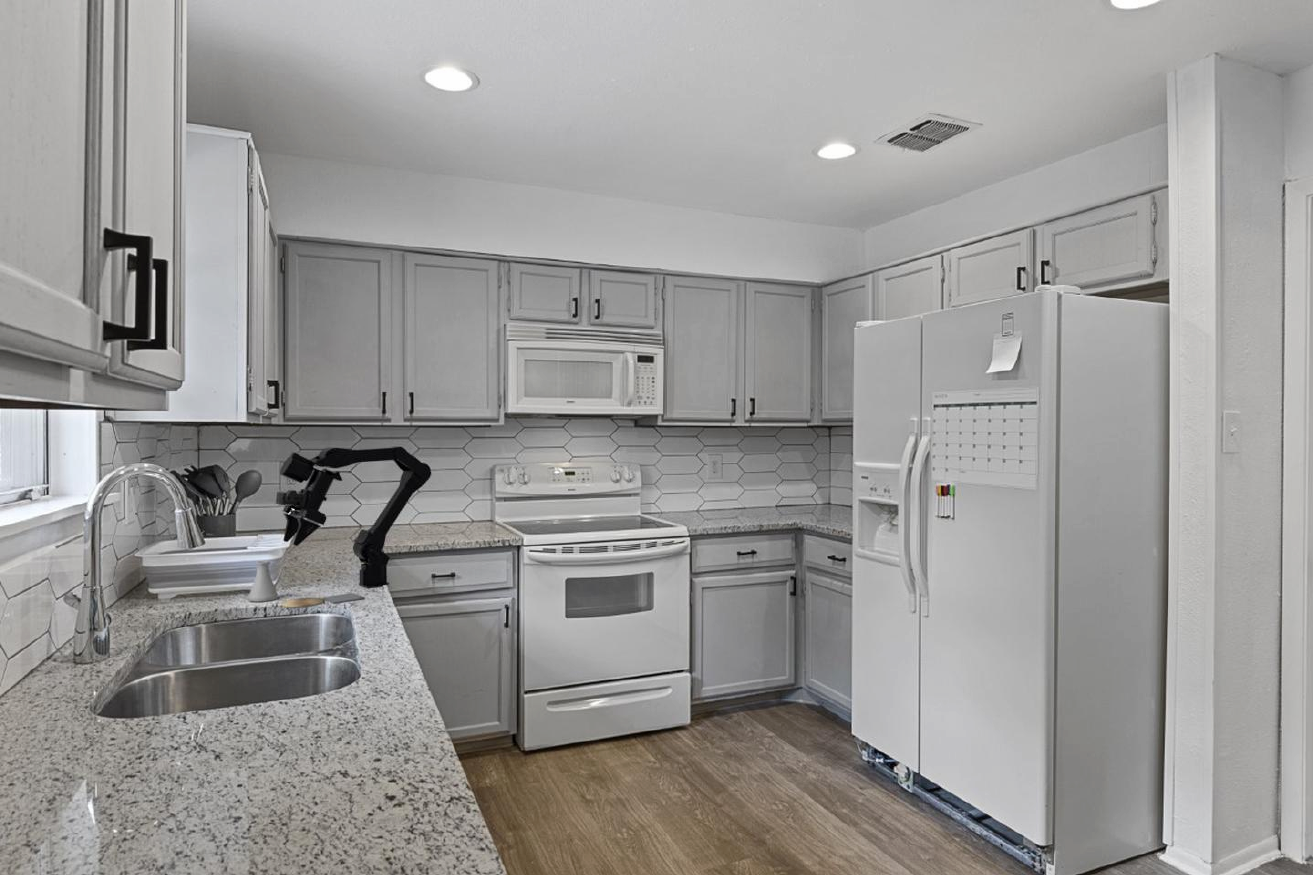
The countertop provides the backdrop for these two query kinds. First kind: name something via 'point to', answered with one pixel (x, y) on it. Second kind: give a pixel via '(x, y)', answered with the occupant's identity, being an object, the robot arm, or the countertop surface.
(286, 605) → the cork trivet
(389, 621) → the countertop surface
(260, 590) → the flask
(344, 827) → the countertop surface
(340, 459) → the robot arm
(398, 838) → the countertop surface
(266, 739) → the countertop surface
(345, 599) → the slate coaster
